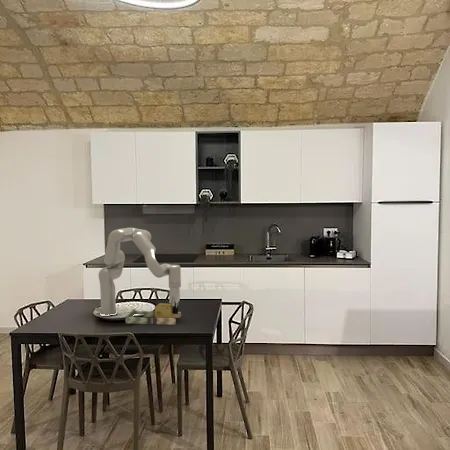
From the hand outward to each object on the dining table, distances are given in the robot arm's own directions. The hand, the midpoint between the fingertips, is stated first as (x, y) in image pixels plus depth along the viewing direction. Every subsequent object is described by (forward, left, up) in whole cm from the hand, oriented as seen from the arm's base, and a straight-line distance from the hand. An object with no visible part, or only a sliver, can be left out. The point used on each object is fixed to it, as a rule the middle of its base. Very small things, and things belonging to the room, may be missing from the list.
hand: (175, 313), depth 300 cm
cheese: (-7, 0, -5) cm, 8 cm away
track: (-13, 0, -5) cm, 14 cm away
